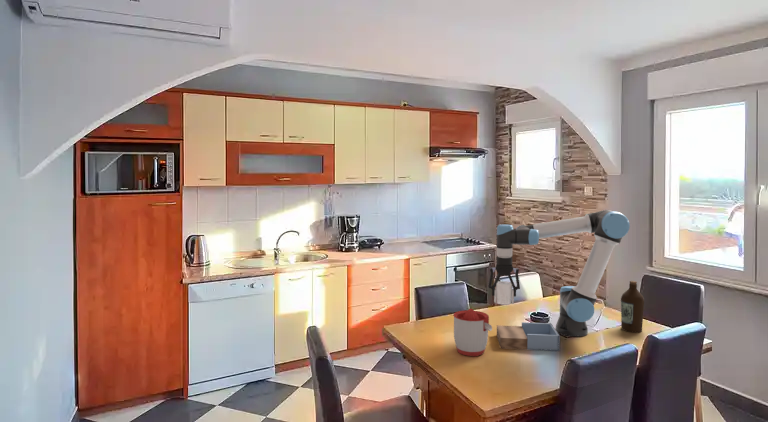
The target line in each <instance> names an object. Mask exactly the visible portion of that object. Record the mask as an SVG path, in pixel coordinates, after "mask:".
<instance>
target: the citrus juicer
mask: <svg viewBox="0 0 768 422" xmlns="http://www.w3.org/2000/svg"><path fill="white" fill-rule="evenodd" d="M492 330H493V326H492V324H490V317H489V314H488V313H486V312H483V311H478V310H474V309H473V308H469V309H468V310H467V309H466V310H459V311H458V310H457V311H456V312H454V313H453V338H454V343H455V347H456V350H457V352H458V354H460V355H463V356H468V357H478V356H482V355H483V354H484V352H485V351H486V348H487V344H488V339H489V338H488V337H489V331H490V332H491V331H492Z"/></svg>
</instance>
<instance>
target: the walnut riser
mask: <svg viewBox="0 0 768 422" xmlns="http://www.w3.org/2000/svg"><path fill="white" fill-rule="evenodd" d="M496 338H497V341H498V345H499V349H504V350H505V349H507V350H525V351H526V350H527V342H528V339H527V337H526V334H525V332H524V330H523V328H522V325H501V324H500V325H499V324H498V325H496Z"/></svg>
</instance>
